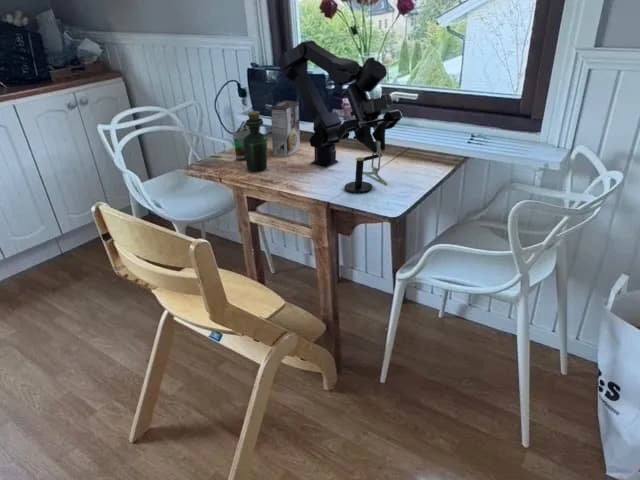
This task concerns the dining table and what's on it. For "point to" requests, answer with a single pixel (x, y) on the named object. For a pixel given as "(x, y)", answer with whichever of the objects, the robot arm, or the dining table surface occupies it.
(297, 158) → the dining table surface
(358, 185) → the black holder stand
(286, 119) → the coffee box
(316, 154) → the robot arm
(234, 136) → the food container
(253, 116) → the potion bottle
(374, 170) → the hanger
